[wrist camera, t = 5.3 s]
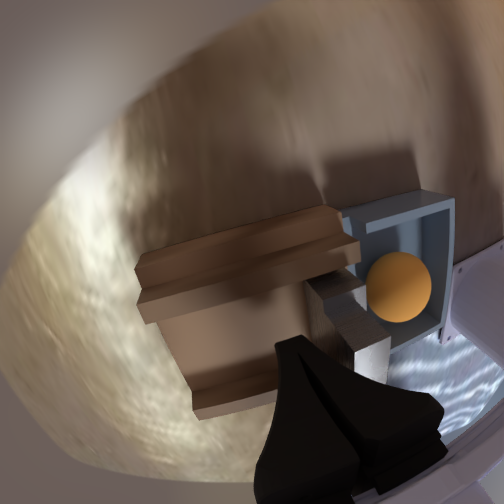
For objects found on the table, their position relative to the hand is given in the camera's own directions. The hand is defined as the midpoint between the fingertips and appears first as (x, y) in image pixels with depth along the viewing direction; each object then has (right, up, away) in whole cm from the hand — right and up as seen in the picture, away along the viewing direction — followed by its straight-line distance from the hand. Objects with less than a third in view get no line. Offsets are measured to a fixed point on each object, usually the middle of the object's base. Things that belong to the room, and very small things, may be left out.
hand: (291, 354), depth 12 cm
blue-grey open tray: (+7, +3, +5) cm, 9 cm away
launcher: (-2, +1, +4) cm, 4 cm away
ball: (+6, +3, +3) cm, 7 cm away
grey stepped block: (+2, +1, +2) cm, 3 cm away
